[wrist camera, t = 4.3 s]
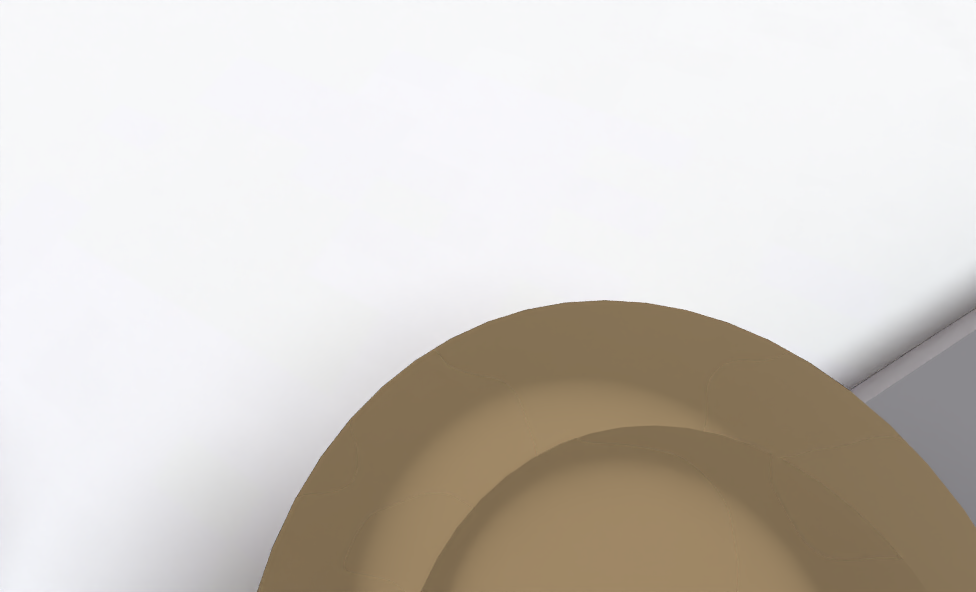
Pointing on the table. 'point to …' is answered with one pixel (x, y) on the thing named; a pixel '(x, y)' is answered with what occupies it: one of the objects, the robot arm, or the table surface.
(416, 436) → the brass weight
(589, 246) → the table surface
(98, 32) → the table surface
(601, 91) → the table surface
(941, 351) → the scale
